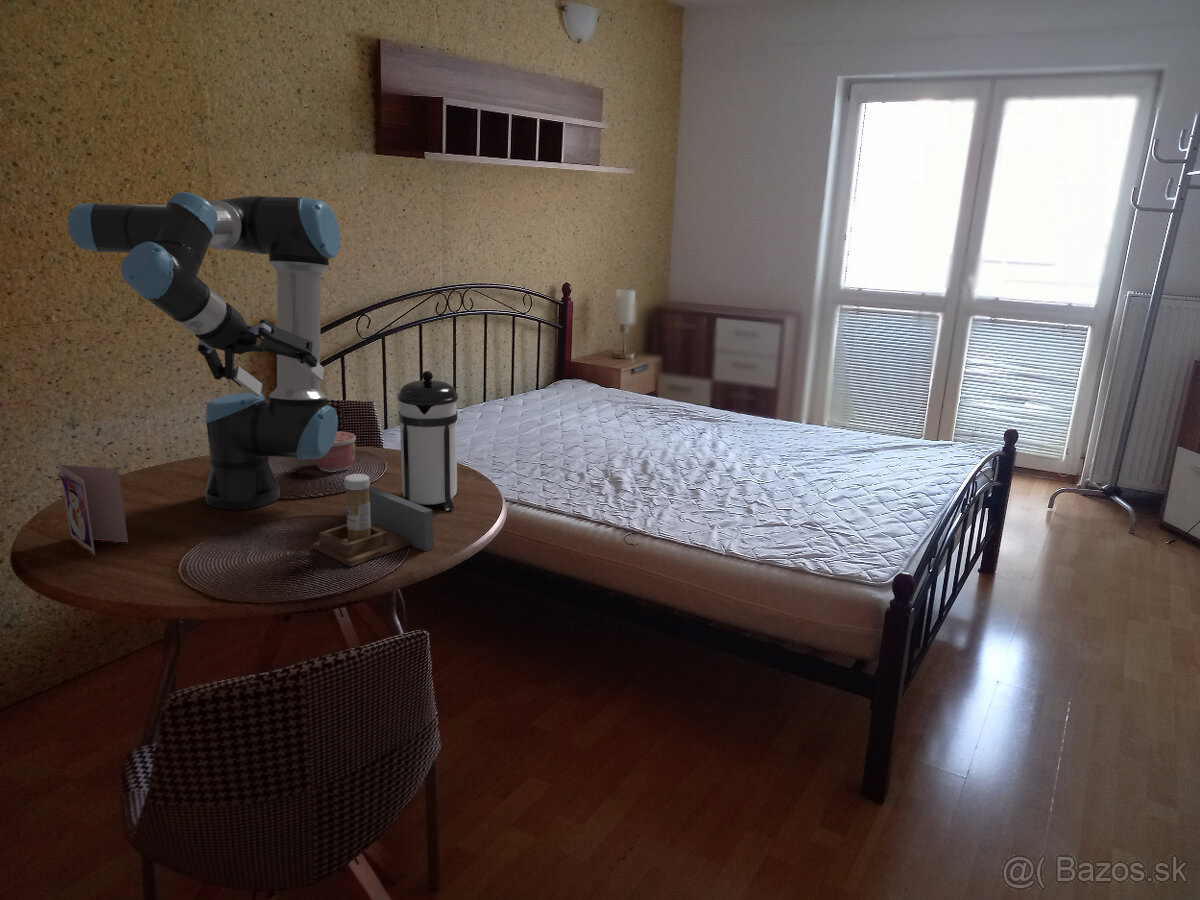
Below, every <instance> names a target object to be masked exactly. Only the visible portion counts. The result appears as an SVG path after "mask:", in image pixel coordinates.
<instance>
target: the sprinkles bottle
mask: <svg viewBox="0 0 1200 900" xmlns="http://www.w3.org/2000/svg"><path fill="white" fill-rule="evenodd" d="M343 481H344V483H343V484H344V488H345V495H346V498H345V500H346V507H345V508H346V509H345V510H346V524H347V528H348V540H347V542H348V543H350V542H353V541H356V540H359V539H362V538H365V537H368V536H371V532H370V526H371V521H370V500H369V486H371V482H370V476H369V475H367V474H364V473H353V474H349V475H347V476H345V477H344V480H343Z"/></svg>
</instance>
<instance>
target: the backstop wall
mask: <svg viewBox="0 0 1200 900" xmlns="http://www.w3.org/2000/svg"><path fill="white" fill-rule="evenodd" d="M369 500H370V521H371V524H376V525H378V526H380V527H383V528H385V529H387V530H390V531H392V532H394V533H397V534H399V535H401V536H403V537H406V538H408V539H410V540H411V541H412V545H411V547H415V548H416V549H418V550H421V551H424V552H427V551H430V550H433V549H434V524H433V523H434V520H433V519H434V513H433V509H431V508H428V507H425V506H423V505H422V504H417V503H413V502H411V501H408V500H406V499H404V497H400V496H398V495H395V494H393V493H390V492H387V491H385V490H382V489H380V488H377V487H375V486H372V485H370V486H369Z"/></svg>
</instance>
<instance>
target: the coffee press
mask: <svg viewBox="0 0 1200 900" xmlns="http://www.w3.org/2000/svg"><path fill="white" fill-rule="evenodd" d="M421 377H422V379H423V380H415V381H414V380H413V381H410V382H408V383H406V384H404V385H403V386H402V387H401V388H400V391H399V393H397V401H398V403H399V410H398V422H399V429H400V430H399V433H400V465H401V490H402V491H401V492H402V496H403V499H406V500H408V501H411V502H413V503H416V504H418V505H430V506H432V505H438V504H440V505H441V506H443V508H444V511H445V512H450V511H453V510H454V509H455V507H454V504H453V502H452V500H453V499H454V496H455V495H456V496H458V471H457V469H458V468H457V467H458V465H457V464H458V460H457V459H458V457H457V455H458V454H457V453H458V452H457V451H458V450H457V448H458V447H457V446H458V445H457V442H458V441H457V439H458V438H457V422H458V410H457V401H458V399H459V395H458V393H457V392H456V390H455V388H454V386H452V385H451V384H450V383H447V382H444V381H441V380H433V377H434V375H433V373H432V372H431V371H430V370H425V371H424V372H423V373H422V375H421ZM456 496H455V497H456Z"/></svg>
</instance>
